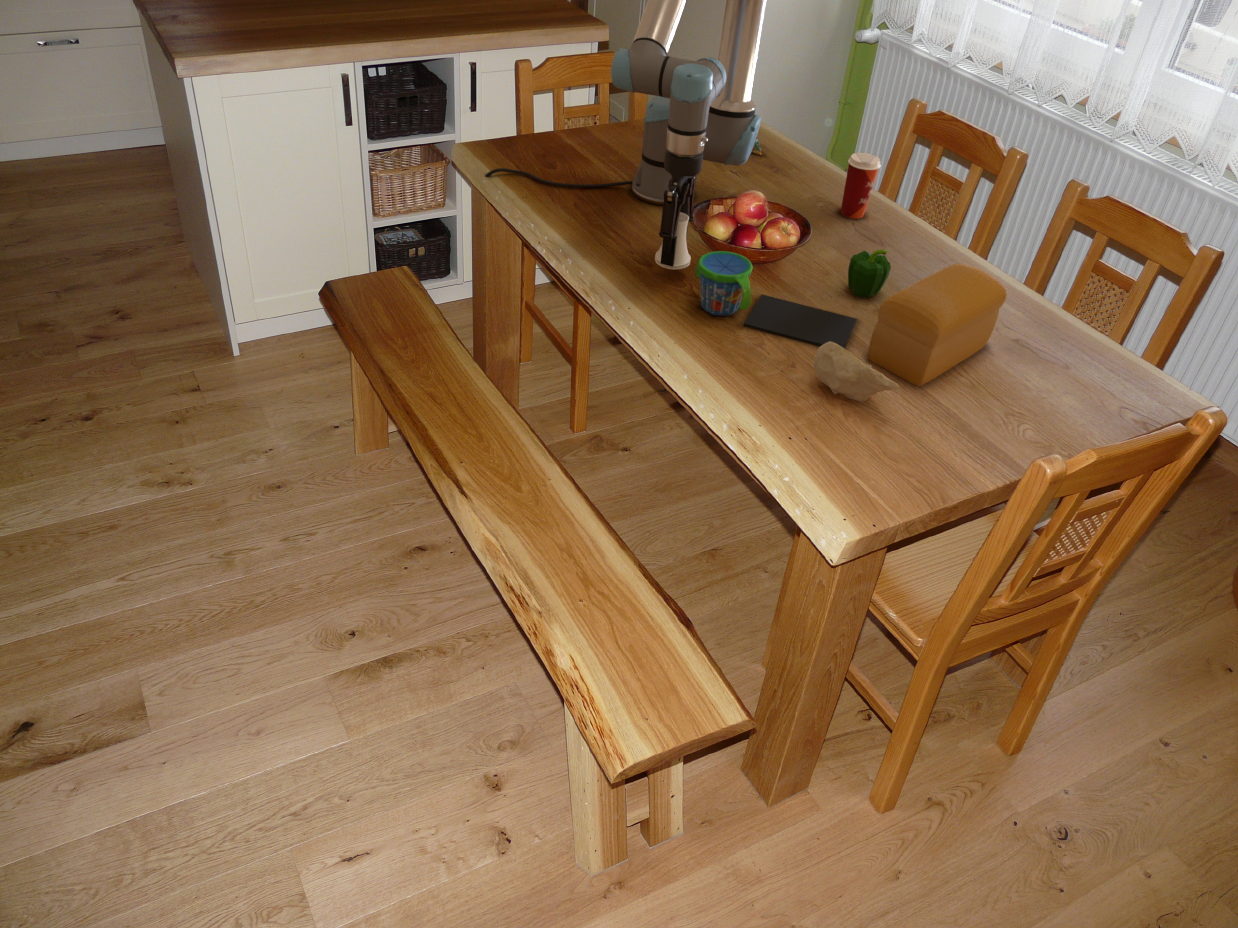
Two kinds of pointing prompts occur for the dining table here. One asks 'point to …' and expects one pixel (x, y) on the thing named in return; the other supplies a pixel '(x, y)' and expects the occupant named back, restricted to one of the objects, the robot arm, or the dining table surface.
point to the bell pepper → (868, 273)
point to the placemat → (800, 322)
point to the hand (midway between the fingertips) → (672, 256)
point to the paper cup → (859, 184)
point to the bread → (936, 323)
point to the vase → (678, 246)
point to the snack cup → (724, 282)
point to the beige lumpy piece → (849, 373)
